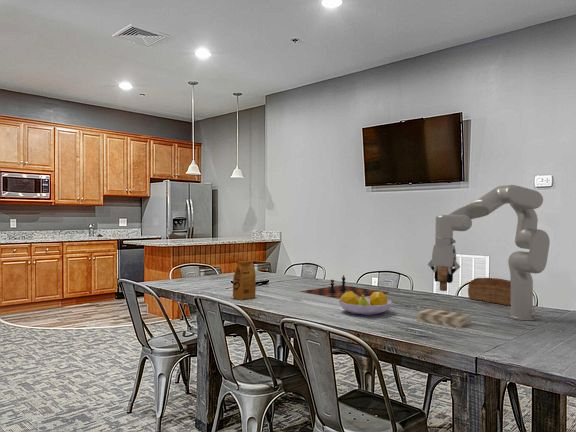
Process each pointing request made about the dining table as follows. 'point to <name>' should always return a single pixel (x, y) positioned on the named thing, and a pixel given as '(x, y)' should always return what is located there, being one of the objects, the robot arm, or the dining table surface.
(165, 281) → the dining table surface
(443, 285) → the peg
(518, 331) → the dining table surface
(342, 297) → the fruit bowl
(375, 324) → the dining table surface
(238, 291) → the coffee package
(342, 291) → the chessboard
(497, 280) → the bread
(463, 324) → the board
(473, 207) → the robot arm
